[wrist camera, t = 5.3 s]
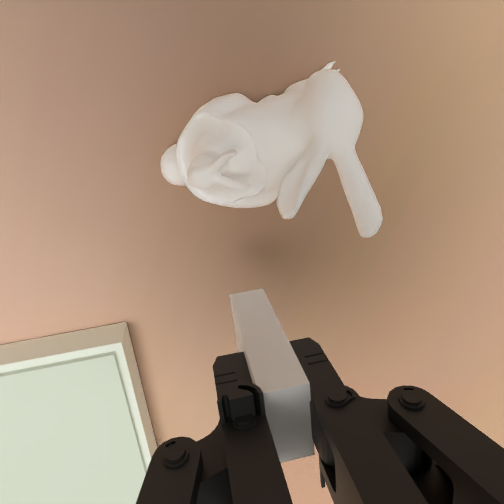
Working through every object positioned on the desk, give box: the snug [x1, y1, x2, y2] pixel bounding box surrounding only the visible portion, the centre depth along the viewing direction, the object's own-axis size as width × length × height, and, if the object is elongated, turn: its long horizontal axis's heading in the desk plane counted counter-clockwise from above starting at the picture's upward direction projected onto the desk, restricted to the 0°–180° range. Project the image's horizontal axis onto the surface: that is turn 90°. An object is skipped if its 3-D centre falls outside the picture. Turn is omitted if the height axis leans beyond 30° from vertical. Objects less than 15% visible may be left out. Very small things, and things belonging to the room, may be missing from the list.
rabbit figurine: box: [160, 61, 383, 238], centre depth 20 cm, size 12×8×10 cm, turn 107°
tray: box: [0, 322, 157, 504], centre depth 26 cm, size 14×16×3 cm
